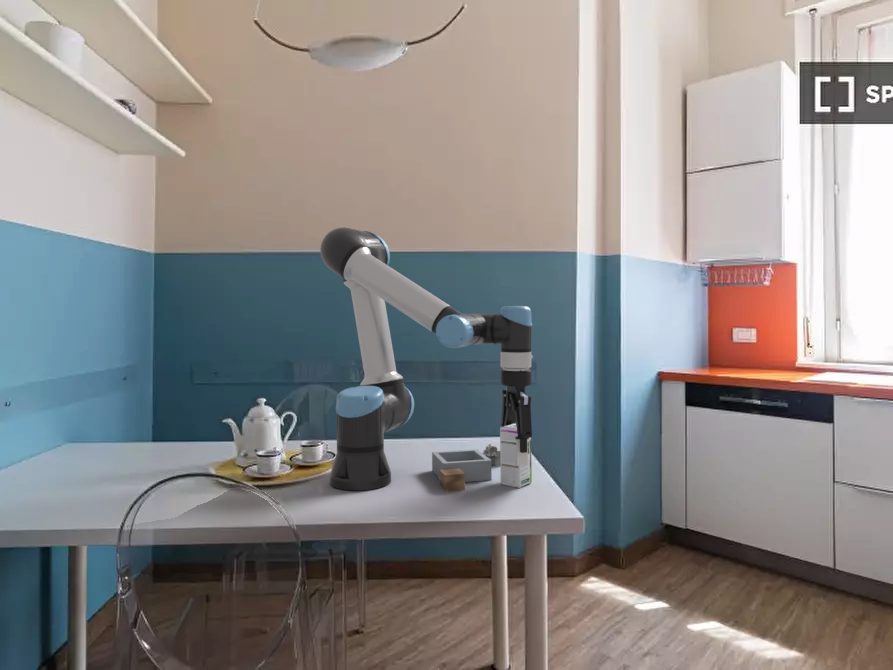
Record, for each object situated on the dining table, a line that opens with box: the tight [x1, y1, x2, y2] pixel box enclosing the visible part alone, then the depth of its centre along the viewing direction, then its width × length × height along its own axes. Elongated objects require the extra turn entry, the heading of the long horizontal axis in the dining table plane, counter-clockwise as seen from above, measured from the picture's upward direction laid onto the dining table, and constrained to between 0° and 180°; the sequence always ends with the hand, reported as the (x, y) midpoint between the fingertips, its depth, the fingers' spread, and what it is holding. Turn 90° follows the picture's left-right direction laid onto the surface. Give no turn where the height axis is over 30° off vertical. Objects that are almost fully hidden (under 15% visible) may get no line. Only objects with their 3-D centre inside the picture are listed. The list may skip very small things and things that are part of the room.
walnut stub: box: [439, 469, 466, 492], centre depth 154 cm, size 5×5×4 cm
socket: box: [431, 448, 492, 483], centre depth 165 cm, size 12×12×5 cm
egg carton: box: [482, 443, 501, 467], centre depth 180 cm, size 11×8×4 cm
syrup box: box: [499, 423, 533, 489], centre depth 157 cm, size 6×6×14 cm
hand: (515, 460), depth 157 cm, fingers closed on syrup box, 8 cm apart
